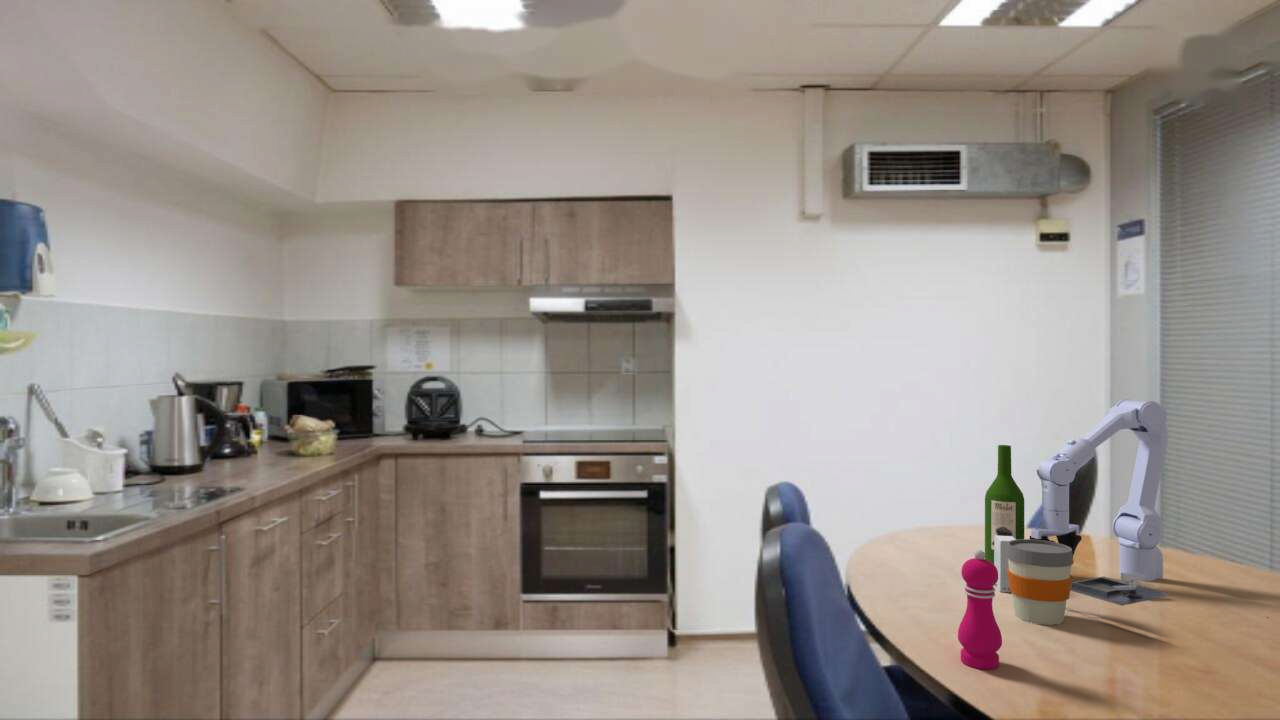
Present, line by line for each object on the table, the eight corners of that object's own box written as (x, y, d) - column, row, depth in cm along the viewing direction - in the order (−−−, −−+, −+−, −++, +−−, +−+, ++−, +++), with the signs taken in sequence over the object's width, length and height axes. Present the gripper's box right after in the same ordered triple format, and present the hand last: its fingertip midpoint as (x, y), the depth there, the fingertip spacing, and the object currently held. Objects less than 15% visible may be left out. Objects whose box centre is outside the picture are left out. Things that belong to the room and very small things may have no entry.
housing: (1103, 581, 186) (1103, 573, 186) (1173, 600, 171) (1173, 591, 171) (1053, 590, 178) (1053, 582, 178) (1121, 610, 164) (1121, 601, 164)
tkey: (1111, 593, 171) (1111, 572, 171) (1140, 592, 172) (1140, 571, 172) (1116, 595, 169) (1116, 574, 169) (1145, 594, 170) (1145, 573, 170)
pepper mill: (950, 655, 139) (950, 545, 139) (988, 654, 139) (988, 544, 139) (970, 671, 132) (970, 555, 132) (1010, 670, 132) (1010, 554, 132)
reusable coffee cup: (1047, 632, 151) (1047, 556, 151) (992, 613, 162) (992, 542, 162) (1087, 622, 157) (1087, 549, 157) (1031, 604, 168) (1031, 536, 168)
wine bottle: (985, 578, 188) (985, 446, 188) (984, 569, 196) (984, 443, 196) (1026, 582, 185) (1026, 448, 185) (1022, 573, 193) (1022, 444, 193)
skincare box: (1019, 593, 176) (1020, 541, 176) (1000, 592, 177) (1000, 540, 177) (1012, 585, 182) (1012, 535, 182) (993, 584, 183) (993, 534, 183)
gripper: (1060, 504, 191) (1060, 558, 191) (1020, 508, 185) (1020, 564, 185) (1087, 509, 185) (1087, 565, 185) (1046, 514, 179) (1046, 572, 179)
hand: (1055, 565), depth 184 cm, fingers open, 7 cm apart
